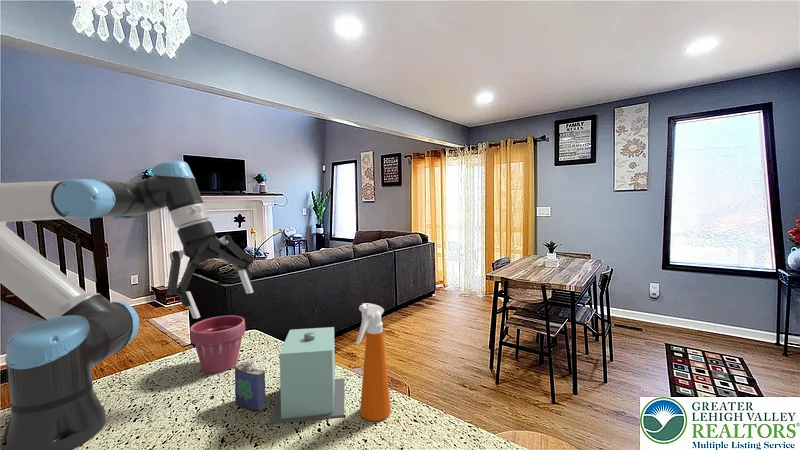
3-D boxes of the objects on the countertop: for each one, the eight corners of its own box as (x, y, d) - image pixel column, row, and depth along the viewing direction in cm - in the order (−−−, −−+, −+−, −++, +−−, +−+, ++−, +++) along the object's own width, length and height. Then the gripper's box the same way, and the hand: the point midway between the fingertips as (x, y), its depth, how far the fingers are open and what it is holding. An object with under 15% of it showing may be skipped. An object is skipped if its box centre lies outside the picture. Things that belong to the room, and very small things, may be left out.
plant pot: (180, 372, 96) (177, 327, 95) (223, 351, 109) (221, 312, 108) (216, 382, 91) (214, 335, 90) (256, 359, 104) (255, 318, 103)
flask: (268, 407, 80) (266, 363, 79) (258, 414, 77) (256, 368, 76) (241, 397, 84) (240, 355, 83) (231, 403, 81) (229, 360, 81)
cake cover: (281, 418, 75) (279, 348, 74) (291, 384, 89) (289, 325, 88) (333, 413, 77) (332, 345, 76) (335, 380, 91) (334, 322, 89)
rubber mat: (269, 424, 74) (268, 422, 74) (282, 384, 89) (282, 383, 89) (344, 416, 76) (344, 414, 76) (344, 379, 92) (344, 378, 92)
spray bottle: (344, 426, 73) (342, 305, 71) (370, 399, 82) (369, 292, 81) (372, 436, 70) (371, 310, 68) (396, 407, 79) (395, 296, 78)
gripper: (137, 237, 71) (175, 330, 74) (248, 209, 90) (275, 283, 92) (129, 242, 76) (165, 329, 78) (235, 214, 95) (262, 284, 97)
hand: (225, 304), depth 85 cm, fingers open, 13 cm apart
